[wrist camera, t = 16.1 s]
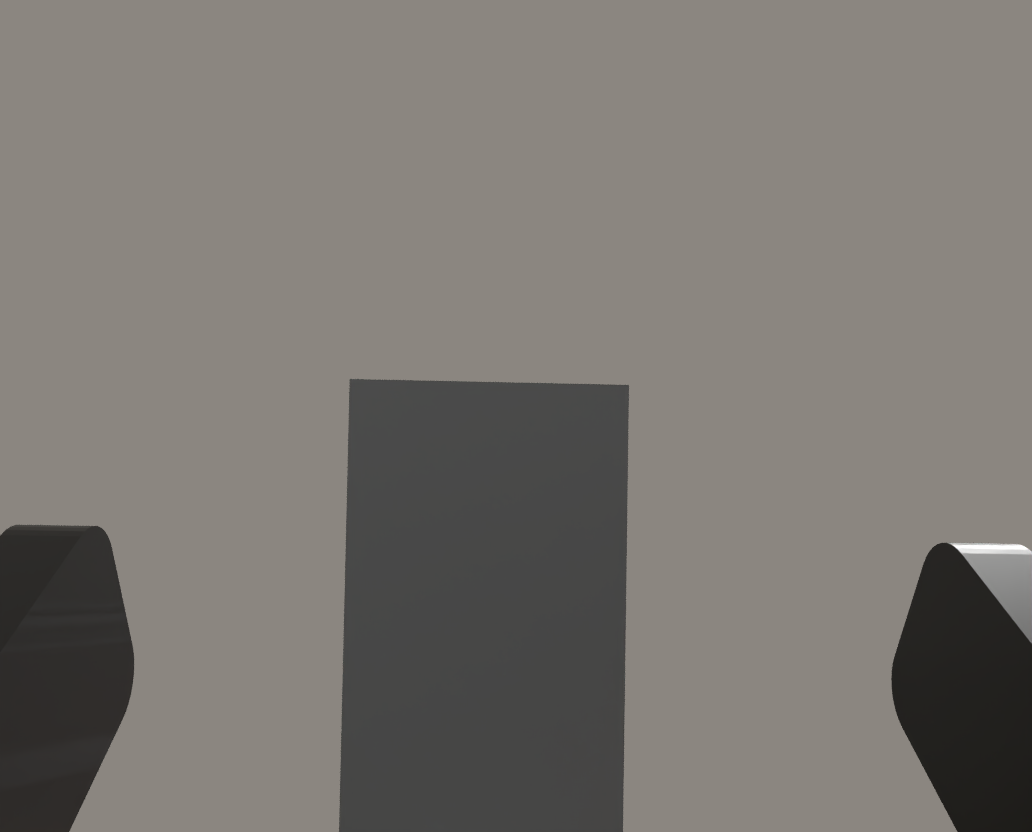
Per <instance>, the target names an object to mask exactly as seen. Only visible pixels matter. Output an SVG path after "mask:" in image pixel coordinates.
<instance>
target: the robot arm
mask: <svg viewBox="0 0 1032 832" xmlns="http://www.w3.org/2000/svg"><path fill="white" fill-rule="evenodd" d="M133 675H134V653H133V646H132V641H131V636H130V632H129V627H128V623H127V618H126V613H125V608H124V604H123V599H122V594H121V589H120V585H119V580H118V575H117V570H116V565H115V561H114V556H113V551H112V547H111V543H110V540H109V538H108V536H107V534H106V532H105V531H104V530H103V529H102V528H100V527H98V526H51V525H14V526H12V527H10V528H8V529H7V530H5V531H4V532H3V533H2V535H1V536H0V832H69V831H70V829H71V826H72V824H73V822H74V820H75V818H76V816H77V814H78V812H79V809H80V808H81V805H82V803H83V801H84V799H85V797H86V795H87V793H88V791H89V789H90V787H91V784H92V782H93V780H94V778H95V776H96V774H97V772H98V770H99V768H100V765H101V763H102V761H103V759H104V757H105V755H106V753H107V751H108V749H109V747H110V744H111V742H112V740H113V738H114V736H115V734H116V732H117V730H118V728H119V726H120V724H121V721H122V719H123V717H124V714H125V712H126V709H127V706H128V703H129V699H130V695H131V690H132V684H133ZM892 694H893V700H894V705H895V709H896V712H897V716H898V719H899V721H900V723H901V726H902V728H903V730H904V731H905V733H906V735H907V737H908V739H909V741H910V743H911V745H912V747H913V749H914V750H915V752H916V754H917V756H918V758H919V760H920V762H921V764H922V766H923V767H924V769H925V771H926V773H927V775H928V777H929V779H930V781H931V782H932V784H933V786H934V788H935V790H936V792H937V794H938V796H939V798H940V800H941V802H942V803H943V805H944V807H945V809H946V811H947V813H948V815H949V817H950V818H951V820H952V822H953V824H954V826H955V828H956V830H957V831H958V832H1032V552H1031V551H1030V550H1029V549H1027V548H1026V547H1024V546H1022V545H1019V544H980V543H978V544H977V543H940V544H937V545H936V546H934V547H933V548H932V549H931V550H930V552H929V553H928V555H927V557H926V559H925V562H924V565H923V567H922V571H921V574H920V577H919V580H918V583H917V587H916V590H915V593H914V596H913V599H912V603H911V606H910V609H909V612H908V615H907V619H906V622H905V625H904V628H903V631H902V635H901V638H900V641H899V644H898V647H897V651H896V654H895V657H894V661H893V667H892Z"/></svg>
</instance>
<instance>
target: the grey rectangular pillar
mask: <svg viewBox="0 0 1032 832" xmlns="http://www.w3.org/2000/svg"><path fill="white" fill-rule="evenodd" d="M628 401H629V385H600V384H598V385H597V384H553V383H506V382H505V383H503V382H457V381H412V380H410V381H409V380H407V381H406V380H364V379H350V392H349V434H348V477H347V479H348V480H347V521H346V523H347V524H346V562H345V605H344V606H345V608H344V649H343V651H344V652H343V692H342V694H343V695H342V733H341V736H342V737H341V777H340V778H341V779H340V780H341V781H340V818H339V821H340V822H339V832H623V777H624V704H625V703H624V702H625V699H624V698H625V630H626V556H627V554H626V553H627V481H628V480H627V479H628V407H629V406H628V405H629V402H628Z"/></svg>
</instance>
